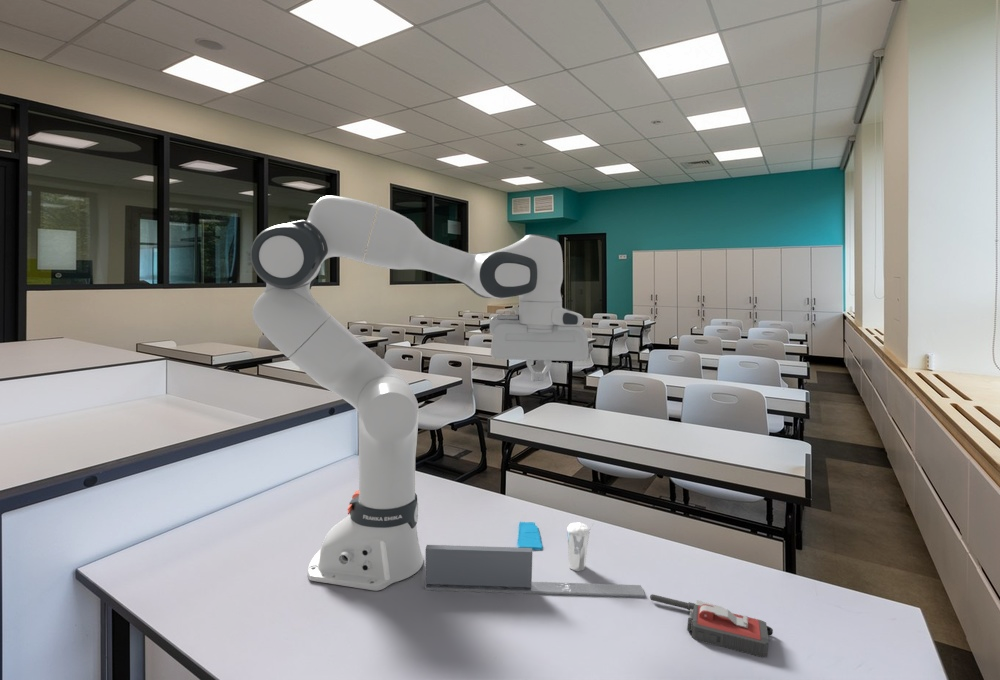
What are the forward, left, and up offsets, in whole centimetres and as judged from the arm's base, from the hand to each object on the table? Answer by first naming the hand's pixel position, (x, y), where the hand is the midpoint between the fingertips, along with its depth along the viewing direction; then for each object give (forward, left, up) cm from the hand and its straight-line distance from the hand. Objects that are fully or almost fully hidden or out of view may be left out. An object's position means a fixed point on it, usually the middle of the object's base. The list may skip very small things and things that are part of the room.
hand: (538, 381), depth 110 cm
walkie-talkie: (+29, -24, -38) cm, 53 cm away
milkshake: (+9, -7, -37) cm, 39 cm away
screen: (-11, -15, -37) cm, 41 cm away
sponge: (-1, +5, -38) cm, 38 cm away
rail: (-1, -15, -37) cm, 40 cm away
